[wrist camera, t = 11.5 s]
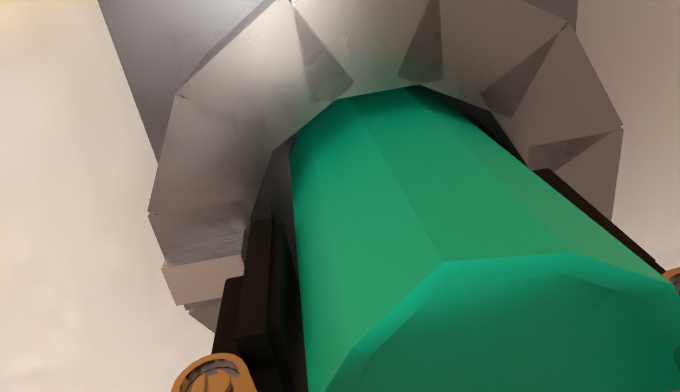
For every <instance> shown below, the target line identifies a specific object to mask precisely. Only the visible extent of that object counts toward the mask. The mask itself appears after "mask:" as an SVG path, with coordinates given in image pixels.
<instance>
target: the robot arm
mask: <svg viewBox="0 0 680 392" xmlns="http://www.w3.org/2000/svg"><path fill="white" fill-rule="evenodd" d="M532 172H534V173H535V174H536V175H537V176H539V177H540V178H541V179H542V180H544V181H545V182H546V183H547V184H549V185H550V186H551V187H552V188H554V189H555V190H556V191H557V192H559V193H560V194H561V195H562V196H564V197H565V198H566V199H567V200H569V201H570V202H571V203H572V204H574V205H575V206H576V207H577V208H578V209H580V210H581V211H582V212H583V213H585V214H586V215H587V216H588V217H590V218H591V219H592V220H593V221H595V222H596V223H597V224H598V225H600V226H601V227H602V228H603V229H605V230H606V231H607V232H608V233H610V234H611V235H612V236H613V237H615V238H616V239H617V240H618V241H620V242H621V243H622V244H623V245H625V246H626V247H627V248H628V249H630V250H631V251H632V252H633V253H635V254H636V255H637V256H638V257H640V258H641V259H642V260H643V261H645V262H646V263H647V264H648V265H649V266H651V267H652V268H653V269H654V270H656V271H657V272H658V273H659V274H661V275H662V276H663V277H664V278H666V279H667V280H668V281H669V282H671V283H672V284H673V285H674V287H675V288H676V290H677V292H678V294H679V296H680V267H679V268H675V269H671V270H668V271H665V270H664V269H663V268H662V267H661V266H660V265H658V264H657V263H656V262H655V259H654V258H652V257H651V256H650V255H649V254H648V253H647V252H646V251H644V250H643V249H642V248H641V247H640V246H639V245H637V244H636V243H635V242H634V241H633V240H632V239H630V238H629V237H628V236H627V235H626V234H625V233H624V232H622V231H621V230H620V229H619V228H618V227H617V226H615V225H614V224H613V223H612V222H611V221H610V220H608V219H607V218H606V217H605V216H604V215H603V214H602V213H600V212H599V211H598V210H597V209H596V208H595V207H593V206H592V205H591V204H590V203H589V202H588V201H587V200H585V199H584V198H583V197H582V196H581V195H580V194H578V193H577V192H576V191H575V190H574V189H573V188H571V187H570V186H569V185H568V184H567V183H566V182H565V181H563V180H562V179H561V178H560V177H559V176H558V175H556V174H555V173H554V172H553V171H552V170H551V169H549V168H544V169H538V170H533V171H532ZM673 358H674V360H675V363H676V365H677V367H678V370H679V372H680V345H679V346H678V347H677V348H675V350H674V356H673ZM171 392H309V391H308V379H307V367H306V355H305V343H304V331H303V319H302V307H301V295H300V289H299V285H298V281H297V277H296V273H295V269H294V265H293V261H292V257H291V253H290V249H289V245H288V241H287V237H286V233H285V229H284V225H283V223H282V222H280V223H275V221H274V219H273V218H270V219H265V220H259V221H254V222H251V224H250V231H249V238H248V245H247V253H246V260H245V267H244V275H243V276H238V277H233V278H228V279H226V281H225V284H224V290H223V295H222V300H221V306H220V311H219V316H218V321H217V327H216V332H215V337H214V343H213V348H212V353H211V355H208V356H205V357H202V358H200V359H199V360H197V361H195V362H193V363H192V364H190V365H189V366H188V367H187V368H186V369H185V370H183V371H182V372H181V374H180V375H179V376H178V378H177V379H176V380H175V382H174V385H173V387H172V390H171ZM668 392H680V389H679V390H674V391H668Z"/></svg>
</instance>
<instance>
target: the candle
mask: <svg viewBox="0 0 680 392" xmlns="http://www.w3.org/2000/svg"><path fill="white" fill-rule="evenodd" d="M289 162H290V174H291V186H292V198H293V211H294V223H295V235H296V247H297V259H298V271H299V283H300V295H301V307H302V319H303V331H304V343H305V355H306V367H307V379H308V391H309V392H668V391H674V390H679V389H680V372H679V370H678V367H677V365H676V363H675V360H674V358H673V356H674V350H675V348H677V347H678V346H679V345H680V296H679V294H678V292H677V290H676V288H675V287H674V285H673V284H672V283H671V282H669V281H668V280H667V279H666V278H664V277H663V276H662V275H661V274H659V273H658V272H657V271H656V270H654V269H653V268H652V267H651V266H649V265H648V264H647V263H646V262H645V261H643V260H642V259H641V258H640V257H638V256H637V255H636V254H635V253H633V252H632V251H631V250H630V249H628V248H627V247H626V246H625V245H623V244H622V243H621V242H620V241H618V240H617V239H616V238H615V237H613V236H612V235H611V234H610V233H608V232H607V231H606V230H605V229H603V228H602V227H601V226H600V225H598V224H597V223H596V222H595V221H593V220H592V219H591V218H590V217H588V216H587V215H586V214H585V213H583V212H582V211H581V210H580V209H578V208H577V207H576V206H575V205H574V204H572V203H571V202H570V201H569V200H567V199H566V198H565V197H564V196H562V195H561V194H560V193H559V192H557V191H556V190H555V189H554V188H552V187H551V186H550V185H549V184H547V183H546V182H545V181H544V180H542V179H541V178H540V177H539V176H537V175H536V174H535V173H534V172H532V171H531V170H530V169H529V168H527V167H526V166H525V165H524V164H522V163H521V162H520V161H519V160H517V159H516V158H515V157H514V156H512V155H511V154H510V153H509V152H508V151H506V150H505V149H504V148H503V147H501V146H500V145H499V144H498V143H496V142H495V141H494V140H493V139H491V138H490V137H489V136H488V135H486V134H485V133H484V132H483V131H481V130H480V129H479V128H478V127H476V126H475V125H474V124H473V123H471V122H470V121H469V120H468V119H466V118H465V117H464V116H463V115H461V114H460V113H459V112H458V111H456V110H455V109H454V108H453V107H451V106H450V105H449V104H448V103H446V102H445V101H444V100H443V99H441V98H440V97H439V96H438V95H437V94H435V93H434V92H433V91H431V90H428V89H425V88H423V87H420V86H417V85H412V86H407V87H401V88H396V89H390V90H385V91H379V92H374V93H368V94H363V95H357V96H352V97H346V98H341V99H336V100H334V101H333V102H332V103H331V104H329V105H328V106H327V107H326V108H325V109H323V110H322V111H321V112H320V113H318V114H317V115H316V116H315V117H314V118H312V119H311V120H310V121H309V122H308V123H306V124H305V125H304V126H303V127H301V128H300V129H299V132H298V135H297V138H296V140H295V143H294V146H293V149H292V152H291V154H290V157H289Z"/></svg>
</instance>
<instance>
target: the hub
mask: <svg viewBox="0 0 680 392" xmlns="http://www.w3.org/2000/svg"><path fill="white" fill-rule="evenodd" d="M98 3H99V5H100V8H101V11H102V14H103V16H104V19H105V22H106V24H107V27H108V30H109V32H110V35H111V38H112V40H113V43H114V46H115V49H116V51H117V54H118V57H119V59H120V62H121V65H122V67H123V70H124V73H125V76H126V78H127V81H128V84H129V86H130V89H131V92H132V94H133V97H134V100H135V103H136V105H137V108H138V111H139V113H140V116H141V119H142V121H143V124H144V127H145V130H146V132H147V135H148V138H149V140H150V143H151V146H152V148H153V151H154V154H155V157H156V159H157V162H158V169H157V173H156V177H155V182H154V186H153V190H152V194H151V199H150V203H149V207H148V211H147V212H150V213H149V215H148V218H149V221H150V223H151V225H152V228H153V230H154V233H155V235H156V238H157V240H158V243H159V245H160V248H161V250H162V253H163V255H164V258H165V261H164V263H163V266H162V268H161V270H162V272H163V274H164V277H165V279H166V282H167V284H168V287H169V289H170V291H171V294H172V296H173V299H174V301H175V303H176V306H177V305H183V304H184V307H185V309H186V310H190V311H189V314H190V315H191V316H192V317H194V318H195V319H196V320H198V321H199V322H200V323H202V324H203V325H204V326H206V327H207V328H208V329H210V330H211V331H213V332H214V333H215V332H216V327H217V321H218V316H219V311H220V306H221V300H222V295H223V290H224V284H225V281H226V279H228V278H233V277H238V276H243V275H244V267H245V260H246V253H247V245H248V238H249V231H250V224H251V222H254V221H259V220H265V219H270V218H273V219H274V221H275V223H280V222H282V223H283V225H284V229H285V233H286V237H287V241H288V245H289V249H290V253H291V257H292V261H293V265H294V269H295V273H296V277H297V281H298V285H299V289H300V283H299V271H298V259H297V247H296V235H295V223H294V211H293V198H292V186H291V174H290V162H289V157H290V154H291V152H292V149H293V146H294V143H295V140H296V138H297V135H298V132H299V129H300V128H301V127H303V126H304V125H305V124H306V123H308V122H309V121H310V120H311V119H312V118H314V117H315V116H316V115H317V114H318V113H320V112H321V111H322V110H323V109H325V108H326V107H327V106H328V105H329V104H331V103H332V102H333V101H334V100H336V99H341V98H346V97H352V96H357V95H363V94H368V93H374V92H379V91H385V90H390V89H396V88H401V87H407V86H412V85H417V86H420V87H423V88H425V89H428V90H431V91H433V92H434V93H435V94H437V95H438V96H439V97H440V98H441V99H443V100H444V101H445V102H446V103H448V104H449V105H450V106H451V107H453V108H454V109H455V110H456V111H458V112H459V113H460V114H461V115H463V116H464V117H465V118H466V119H468V120H469V121H470V122H471V123H473V124H474V125H475V126H476V127H478V128H479V129H480V130H481V131H483V132H484V133H485V134H486V135H488V136H489V137H490V138H491V139H493V140H494V141H495V142H496V143H498V144H499V145H500V146H501V147H503V148H504V149H505V150H506V151H508V152H509V153H510V154H511V155H512V156H514V157H515V158H516V159H517V160H519V161H520V162H521V163H522V164H524V165H525V166H526V167H527V168H529V169H530V170H531V171H533V170H538V169H544V168H549V169H551V170H552V171H553V172H554V173H555V174H556V175H558V176H559V177H560V178H561V179H562V180H563V181H565V182H566V183H567V184H568V185H569V186H570V187H571V188H573V189H574V190H575V191H576V192H577V193H578V194H580V195H581V196H582V197H583V198H584V199H585V200H587V201H588V202H589V203H590V204H591V205H592V206H593V207H595V208H596V209H597V210H598V211H599V212H600V213H602V214H603V215H604V216H605V217H606V218H607V219H608V220H610V221H611V218H612V210H613V203H614V196H615V188H616V181H617V174H618V166H619V159H620V152H621V144H622V137H623V129H622V128H620V126H622V125H623V124H622V122H621V120H620V118H619V116H618V115H617V113H616V111H615V109H614V107H613V105H612V103H611V101H610V99H609V97H608V95H607V94H606V92H605V90H604V88H603V86H602V84H601V82H600V80H599V78H598V76H597V74H596V73H595V71H594V69H593V67H592V65H591V63H590V61H589V59H588V57H587V55H586V54H585V52H584V50H583V48H582V46H581V44H580V42H579V40H578V38H577V36H576V34H575V31H576V18H577V5H578V0H98Z"/></svg>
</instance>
